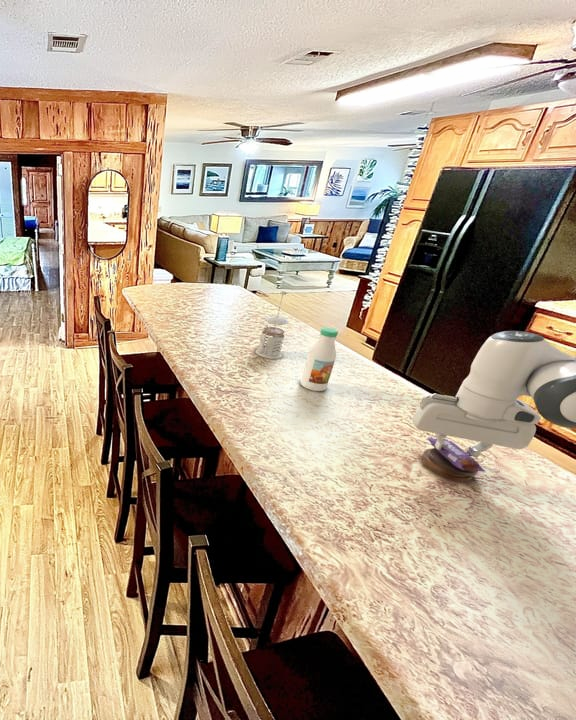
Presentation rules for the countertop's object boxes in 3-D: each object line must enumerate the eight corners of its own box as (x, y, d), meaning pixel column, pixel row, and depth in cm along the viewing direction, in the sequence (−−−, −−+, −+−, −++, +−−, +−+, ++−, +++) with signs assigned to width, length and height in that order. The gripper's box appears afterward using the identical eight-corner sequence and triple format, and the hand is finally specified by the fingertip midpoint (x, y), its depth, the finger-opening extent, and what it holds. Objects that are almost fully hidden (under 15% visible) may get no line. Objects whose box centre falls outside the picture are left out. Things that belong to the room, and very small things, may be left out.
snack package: (427, 435, 96) (448, 436, 95) (424, 441, 96) (444, 442, 96) (464, 466, 85) (488, 468, 85) (460, 473, 86) (484, 475, 86)
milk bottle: (296, 385, 128) (312, 329, 119) (304, 377, 133) (320, 323, 124) (322, 394, 123) (340, 336, 114) (328, 385, 128) (347, 329, 119)
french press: (287, 355, 149) (304, 292, 138) (269, 362, 143) (285, 297, 132) (265, 346, 157) (279, 286, 146) (247, 352, 151) (260, 290, 140)
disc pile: (462, 461, 95) (467, 451, 94) (480, 487, 87) (486, 477, 86) (415, 451, 98) (420, 441, 97) (429, 475, 90) (434, 465, 89)
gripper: (430, 398, 85) (407, 448, 91) (551, 419, 78) (518, 472, 85) (420, 385, 90) (399, 433, 96) (533, 404, 84) (503, 454, 90)
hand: (455, 451), depth 90 cm, fingers closed on snack package, 5 cm apart
